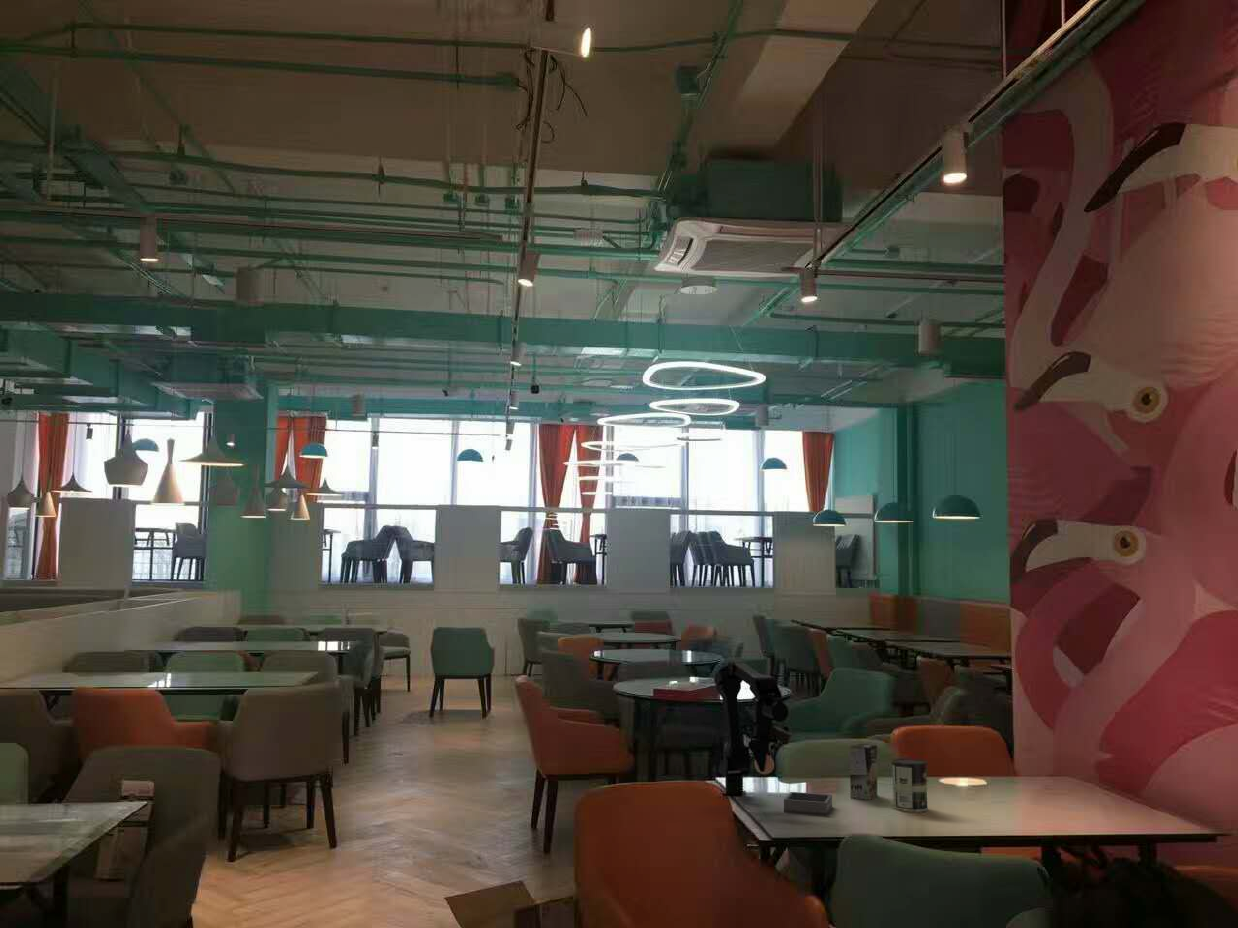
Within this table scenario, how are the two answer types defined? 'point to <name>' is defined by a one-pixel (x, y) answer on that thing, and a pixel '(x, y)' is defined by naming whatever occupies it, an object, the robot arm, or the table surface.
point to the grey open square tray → (808, 803)
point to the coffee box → (863, 771)
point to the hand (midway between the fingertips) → (764, 769)
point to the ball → (766, 765)
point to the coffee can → (909, 785)
